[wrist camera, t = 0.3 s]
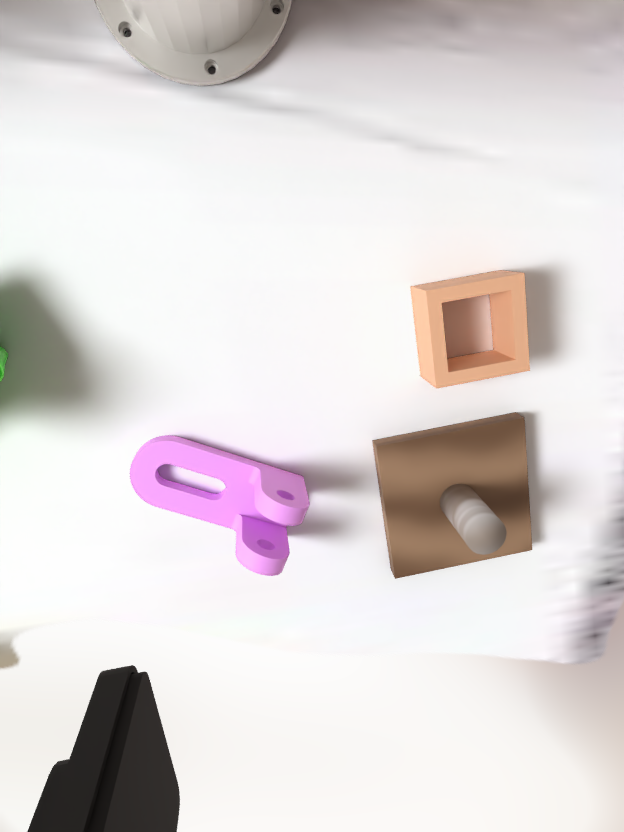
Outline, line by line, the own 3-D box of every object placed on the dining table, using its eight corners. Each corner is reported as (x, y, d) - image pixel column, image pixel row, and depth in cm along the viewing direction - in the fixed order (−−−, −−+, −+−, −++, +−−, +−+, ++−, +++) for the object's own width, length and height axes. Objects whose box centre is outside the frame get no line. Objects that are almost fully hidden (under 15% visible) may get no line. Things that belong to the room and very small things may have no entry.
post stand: (372, 440, 47) (394, 476, 40) (516, 412, 48) (563, 442, 41) (390, 569, 51) (414, 623, 43) (524, 541, 51) (569, 590, 44)
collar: (410, 286, 44) (425, 290, 40) (500, 270, 44) (524, 272, 40) (420, 376, 46) (436, 388, 42) (506, 359, 46) (529, 370, 42)
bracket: (303, 475, 47) (312, 513, 41) (279, 534, 49) (284, 580, 42) (145, 425, 45) (127, 457, 38) (124, 489, 46) (104, 530, 40)
